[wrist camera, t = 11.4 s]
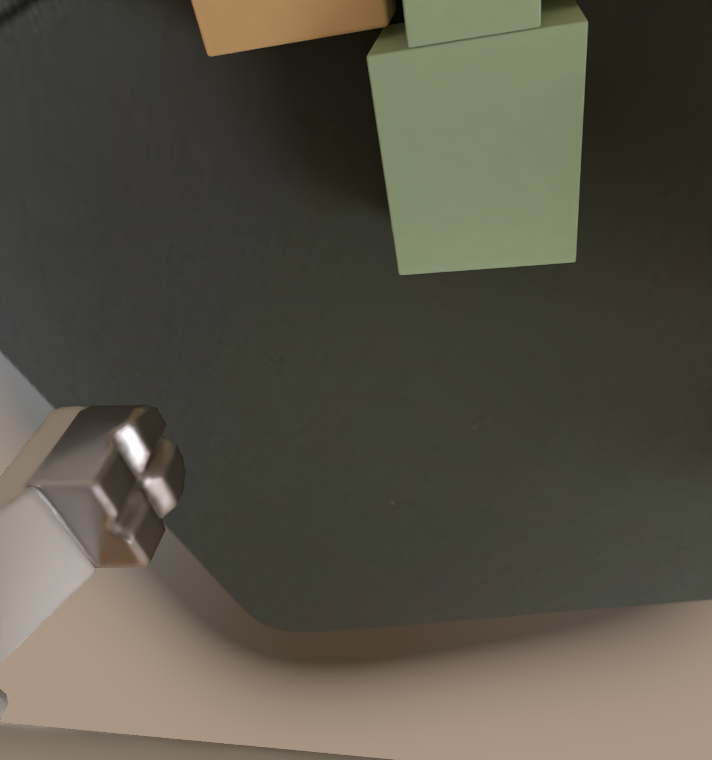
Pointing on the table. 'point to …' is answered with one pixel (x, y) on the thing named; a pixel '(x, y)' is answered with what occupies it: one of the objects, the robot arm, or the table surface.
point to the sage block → (481, 131)
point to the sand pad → (283, 21)
